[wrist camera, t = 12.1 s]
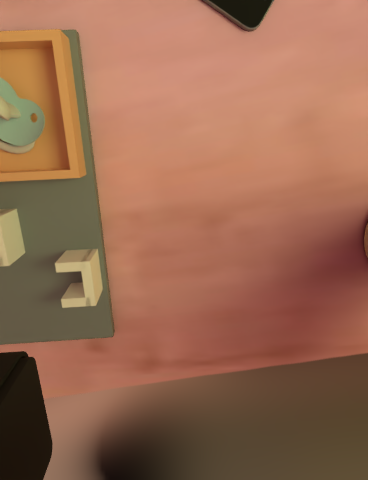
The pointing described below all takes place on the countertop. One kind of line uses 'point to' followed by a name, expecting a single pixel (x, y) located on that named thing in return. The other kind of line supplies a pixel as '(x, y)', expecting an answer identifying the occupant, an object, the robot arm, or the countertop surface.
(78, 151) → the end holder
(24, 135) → the pacifier
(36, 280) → the board
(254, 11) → the smartphone
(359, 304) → the countertop surface
